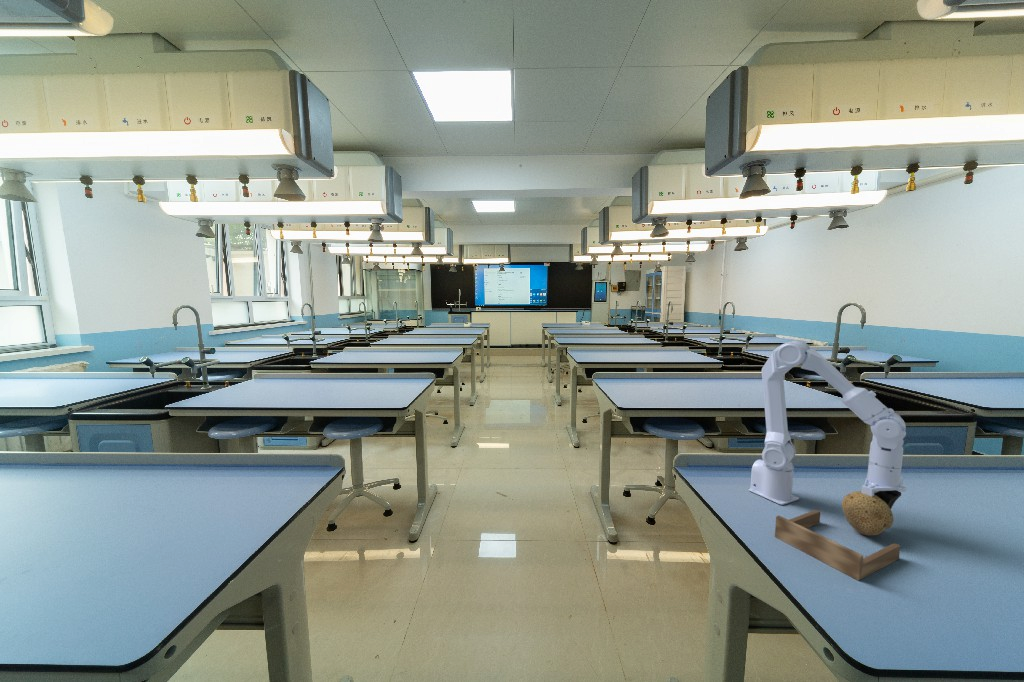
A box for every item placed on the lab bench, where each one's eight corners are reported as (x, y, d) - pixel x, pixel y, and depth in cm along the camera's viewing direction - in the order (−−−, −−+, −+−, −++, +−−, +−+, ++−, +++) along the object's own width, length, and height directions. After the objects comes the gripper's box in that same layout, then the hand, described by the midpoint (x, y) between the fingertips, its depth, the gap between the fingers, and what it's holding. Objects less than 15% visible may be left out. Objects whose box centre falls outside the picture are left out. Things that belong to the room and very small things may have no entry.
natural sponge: (861, 521, 98) (865, 483, 97) (902, 542, 89) (906, 500, 88) (830, 524, 96) (833, 485, 95) (868, 546, 87) (873, 504, 87)
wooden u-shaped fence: (774, 536, 91) (776, 516, 91) (815, 521, 98) (816, 502, 97) (858, 580, 77) (860, 556, 76) (898, 558, 83) (901, 536, 83)
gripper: (891, 475, 87) (885, 533, 88) (921, 464, 93) (916, 519, 94) (853, 464, 93) (848, 518, 95) (884, 454, 99) (879, 505, 101)
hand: (879, 517), depth 95 cm, fingers closed
